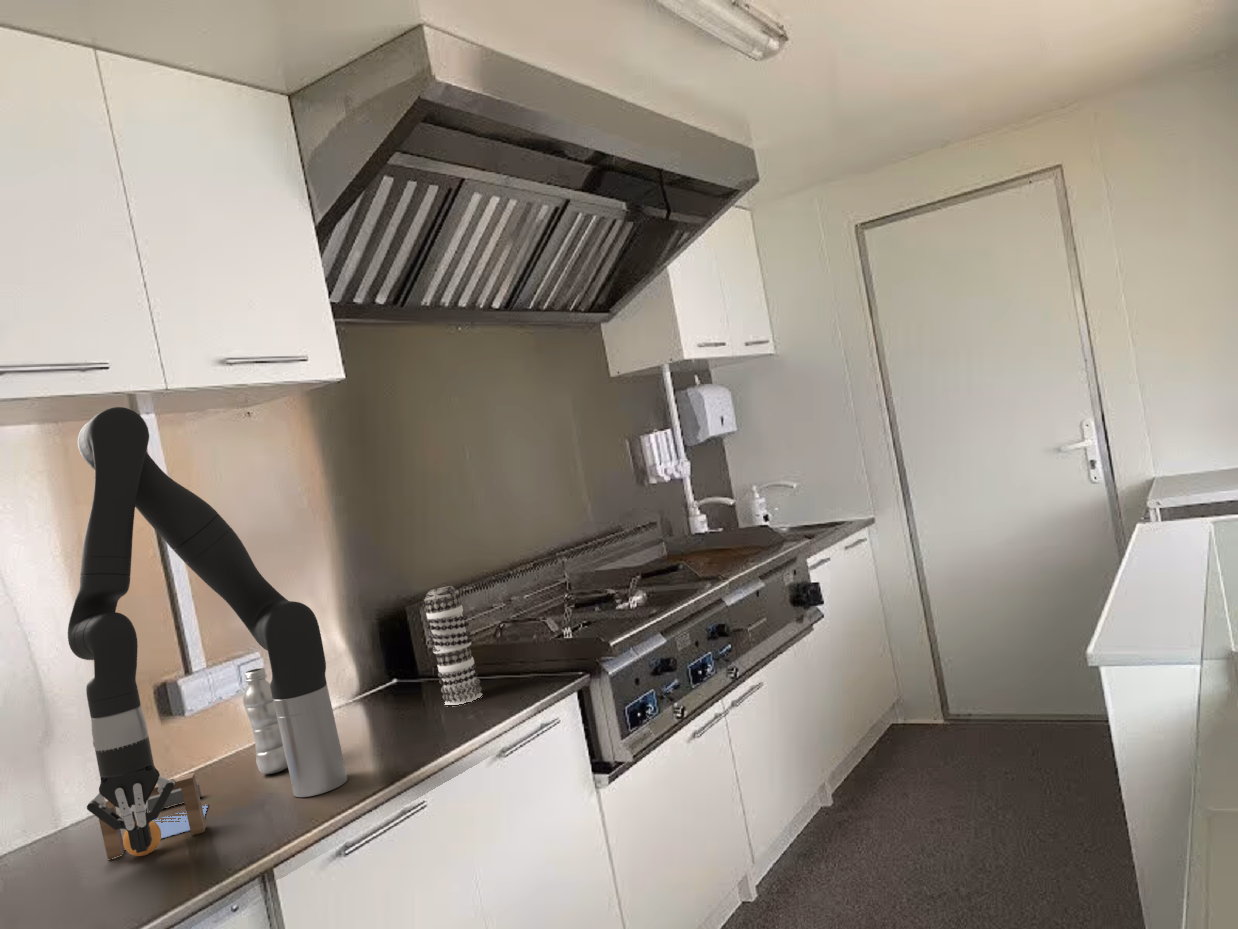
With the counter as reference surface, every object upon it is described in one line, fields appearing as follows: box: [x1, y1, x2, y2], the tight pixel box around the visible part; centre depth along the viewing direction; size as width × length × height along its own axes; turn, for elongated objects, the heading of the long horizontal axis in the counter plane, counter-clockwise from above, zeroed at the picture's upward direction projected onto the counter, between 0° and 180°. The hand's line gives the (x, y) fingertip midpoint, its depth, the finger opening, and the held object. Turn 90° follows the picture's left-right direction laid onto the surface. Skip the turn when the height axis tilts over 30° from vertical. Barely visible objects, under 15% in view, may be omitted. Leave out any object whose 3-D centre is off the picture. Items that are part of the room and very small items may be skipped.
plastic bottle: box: [242, 667, 288, 775], centre depth 190 cm, size 6×7×20 cm
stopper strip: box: [147, 782, 202, 812], centre depth 182 cm, size 2×9×2 cm, turn 108°
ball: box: [122, 821, 162, 857], centre depth 157 cm, size 6×6×6 cm
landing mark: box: [153, 804, 209, 839], centre depth 169 cm, size 13×13×1 cm
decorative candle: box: [422, 585, 483, 706], centre depth 217 cm, size 9×9×25 cm
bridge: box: [98, 772, 207, 860], centre depth 162 cm, size 3×14×9 cm, turn 108°
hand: (142, 850), depth 154 cm, fingers closed
